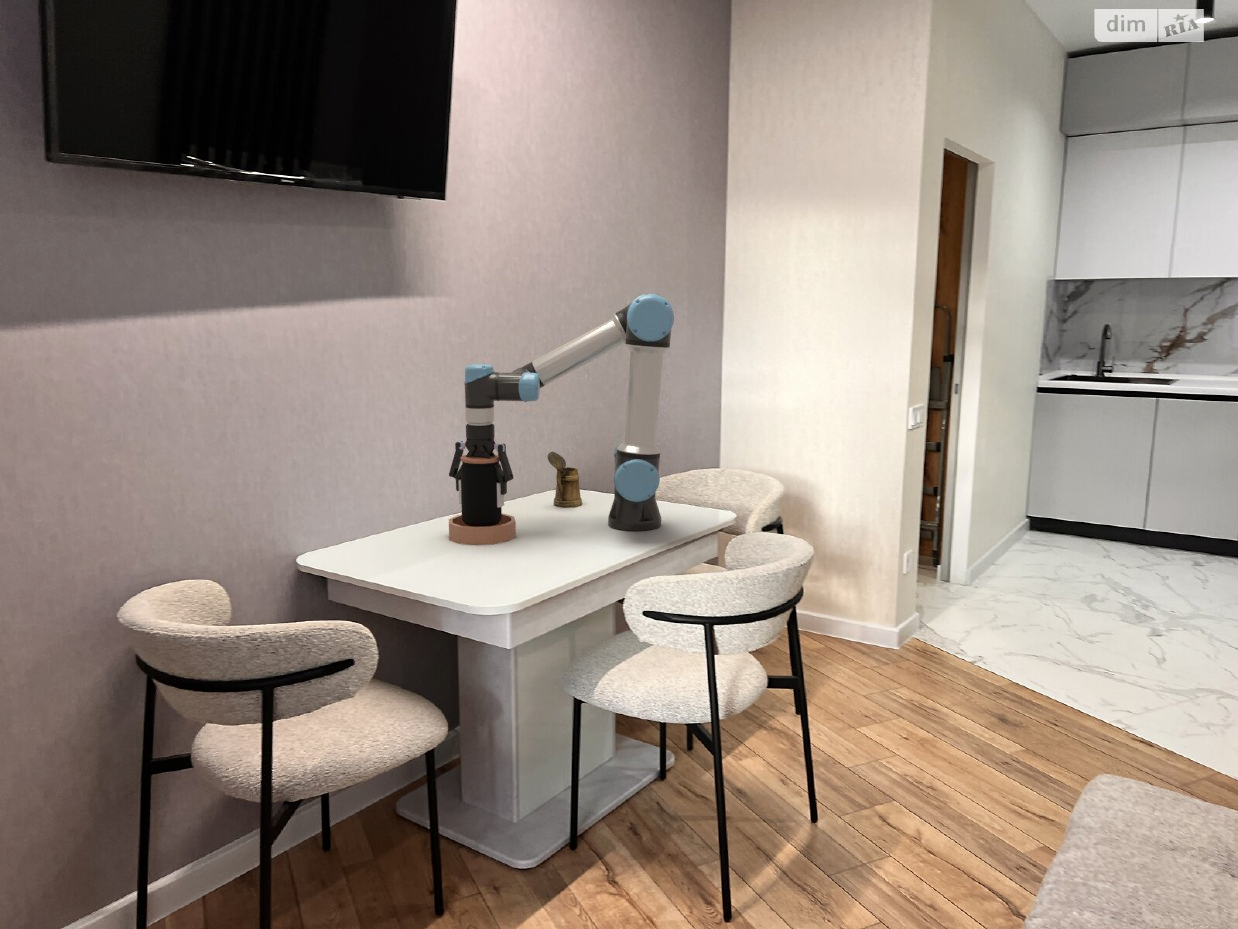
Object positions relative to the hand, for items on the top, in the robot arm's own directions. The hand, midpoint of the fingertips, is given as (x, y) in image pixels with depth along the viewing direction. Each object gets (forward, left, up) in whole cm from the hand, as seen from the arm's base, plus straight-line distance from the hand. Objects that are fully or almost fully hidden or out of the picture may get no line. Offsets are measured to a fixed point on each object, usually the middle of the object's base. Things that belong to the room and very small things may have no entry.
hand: (481, 504), depth 251 cm
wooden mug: (-7, -42, -9) cm, 43 cm away
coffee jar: (0, 0, -5) cm, 5 cm away
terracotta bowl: (0, 0, -9) cm, 9 cm away
